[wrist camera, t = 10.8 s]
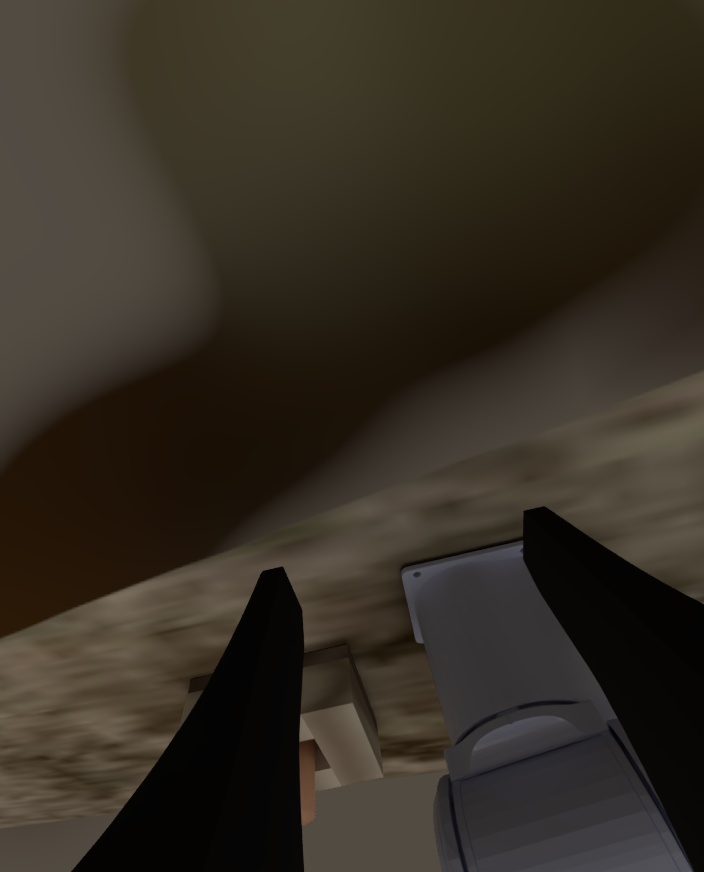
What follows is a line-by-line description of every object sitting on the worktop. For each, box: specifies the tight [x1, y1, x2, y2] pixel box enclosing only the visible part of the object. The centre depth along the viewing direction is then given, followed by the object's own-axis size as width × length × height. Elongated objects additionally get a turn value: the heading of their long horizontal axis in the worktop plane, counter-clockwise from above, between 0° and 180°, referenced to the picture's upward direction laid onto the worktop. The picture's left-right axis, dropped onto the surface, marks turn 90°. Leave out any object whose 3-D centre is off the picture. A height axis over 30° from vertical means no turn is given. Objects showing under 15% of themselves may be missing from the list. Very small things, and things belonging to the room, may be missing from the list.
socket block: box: [179, 644, 384, 792], centre depth 30 cm, size 12×12×4 cm
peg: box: [299, 739, 315, 825], centre depth 28 cm, size 4×4×6 cm
